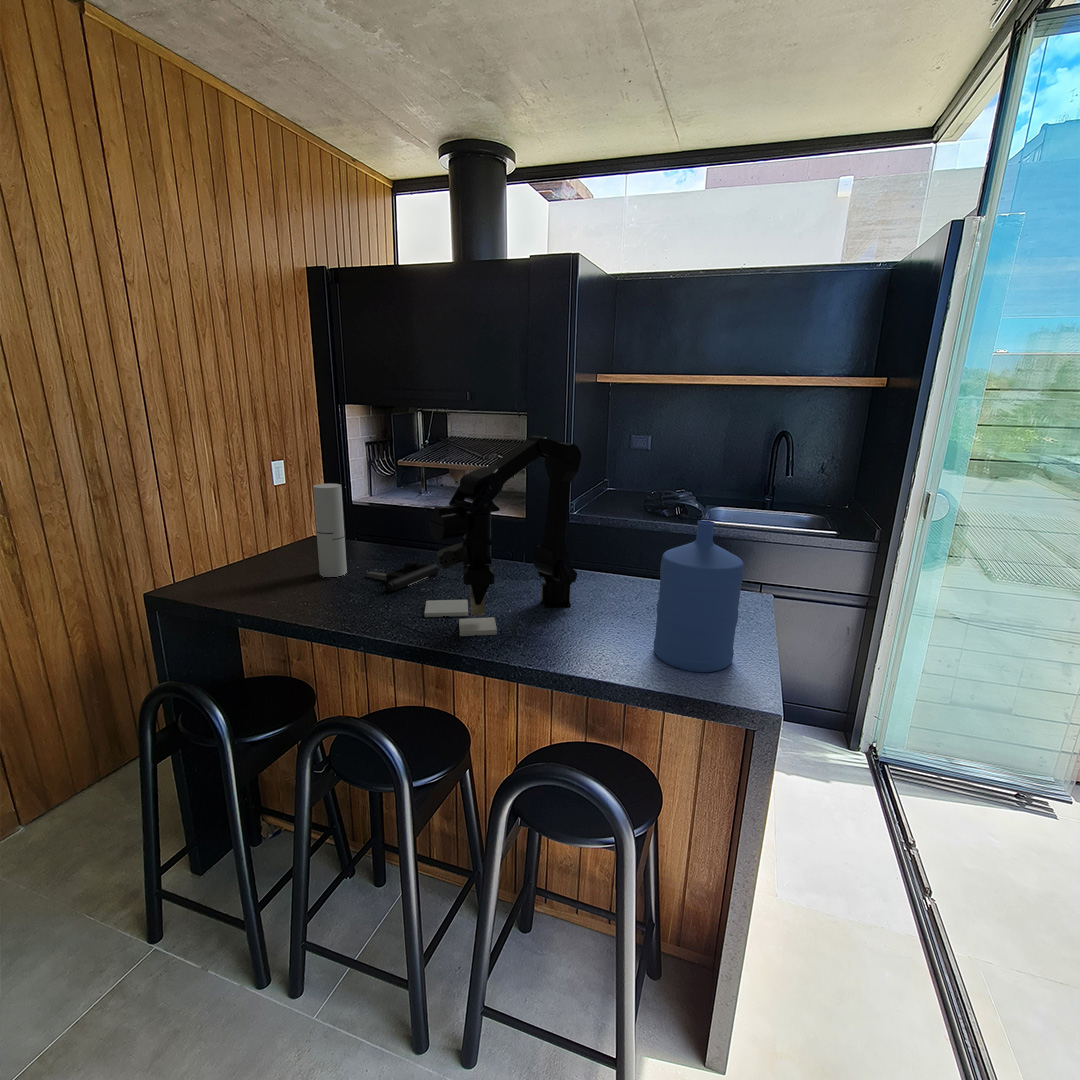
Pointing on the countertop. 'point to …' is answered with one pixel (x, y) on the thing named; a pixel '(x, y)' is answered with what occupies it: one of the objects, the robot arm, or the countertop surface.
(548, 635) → the countertop surface
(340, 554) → the cylindrical container
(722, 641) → the water jug
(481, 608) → the stick
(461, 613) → the grey flat plate
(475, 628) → the tile
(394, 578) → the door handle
